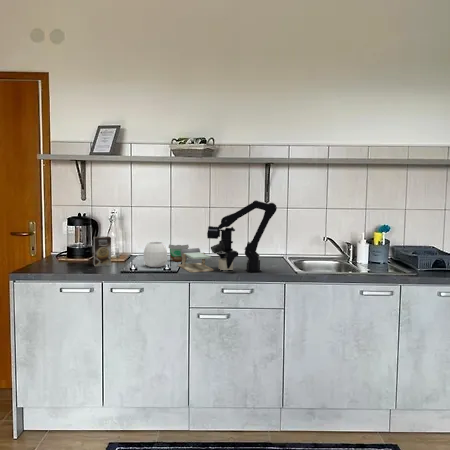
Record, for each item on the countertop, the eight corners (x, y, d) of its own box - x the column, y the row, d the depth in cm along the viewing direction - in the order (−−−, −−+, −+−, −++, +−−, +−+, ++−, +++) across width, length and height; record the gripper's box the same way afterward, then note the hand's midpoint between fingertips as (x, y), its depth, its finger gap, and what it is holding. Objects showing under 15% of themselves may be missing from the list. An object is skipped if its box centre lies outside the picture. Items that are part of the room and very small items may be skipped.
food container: (169, 262, 280) (169, 245, 279) (168, 260, 286) (168, 244, 285) (189, 262, 282) (190, 245, 281) (188, 260, 288) (188, 243, 287)
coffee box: (94, 266, 262) (94, 237, 260) (93, 264, 268) (93, 236, 266) (111, 265, 265) (111, 237, 264) (109, 263, 271) (109, 236, 270)
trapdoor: (197, 256, 274) (197, 247, 273) (210, 262, 255) (211, 252, 255) (180, 257, 269) (180, 248, 269) (193, 263, 251) (193, 253, 251)
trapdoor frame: (199, 264, 274) (200, 251, 273) (213, 270, 257) (213, 256, 256) (178, 266, 269) (178, 252, 268) (190, 272, 251) (190, 257, 250)
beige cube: (228, 268, 264) (228, 258, 263) (233, 270, 258) (233, 259, 258) (218, 269, 261) (218, 258, 261) (223, 271, 256) (223, 260, 255)
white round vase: (140, 265, 269) (140, 241, 268) (162, 263, 275) (162, 240, 274) (147, 269, 258) (147, 244, 256) (170, 267, 264) (170, 243, 262)
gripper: (206, 237, 263) (205, 265, 265) (220, 241, 246) (219, 271, 248) (224, 236, 268) (223, 264, 269) (239, 241, 251) (238, 270, 253)
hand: (225, 267), depth 260 cm, fingers closed on beige cube, 6 cm apart
